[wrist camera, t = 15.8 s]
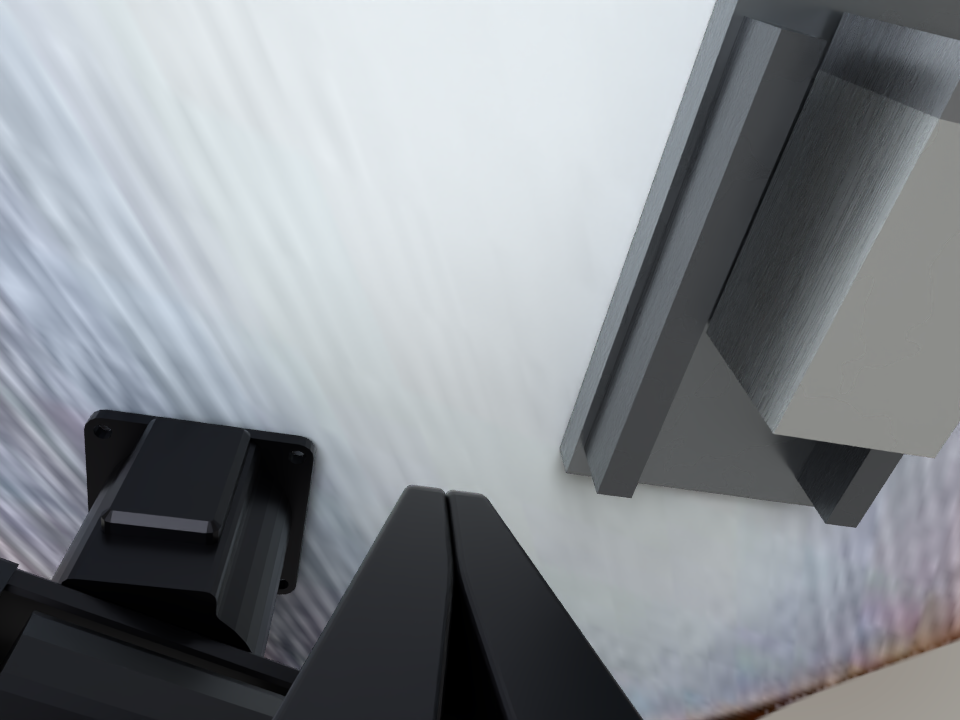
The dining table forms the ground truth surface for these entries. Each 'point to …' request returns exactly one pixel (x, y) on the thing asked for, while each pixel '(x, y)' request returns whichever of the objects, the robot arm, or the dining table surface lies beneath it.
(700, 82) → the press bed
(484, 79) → the dining table surface
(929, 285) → the ram
